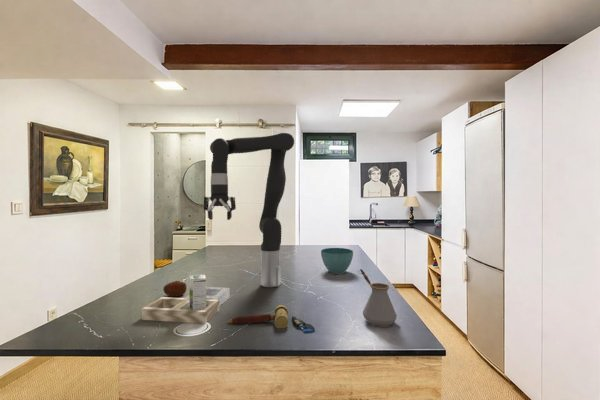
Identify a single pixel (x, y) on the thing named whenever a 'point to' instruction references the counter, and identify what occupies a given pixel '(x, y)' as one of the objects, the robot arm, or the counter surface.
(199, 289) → the syrup box
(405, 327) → the counter surface
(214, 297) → the socket block
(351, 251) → the teal bowl
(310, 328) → the micrometer
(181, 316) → the rack
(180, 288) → the potato
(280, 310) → the gavel
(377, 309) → the coffee pot
